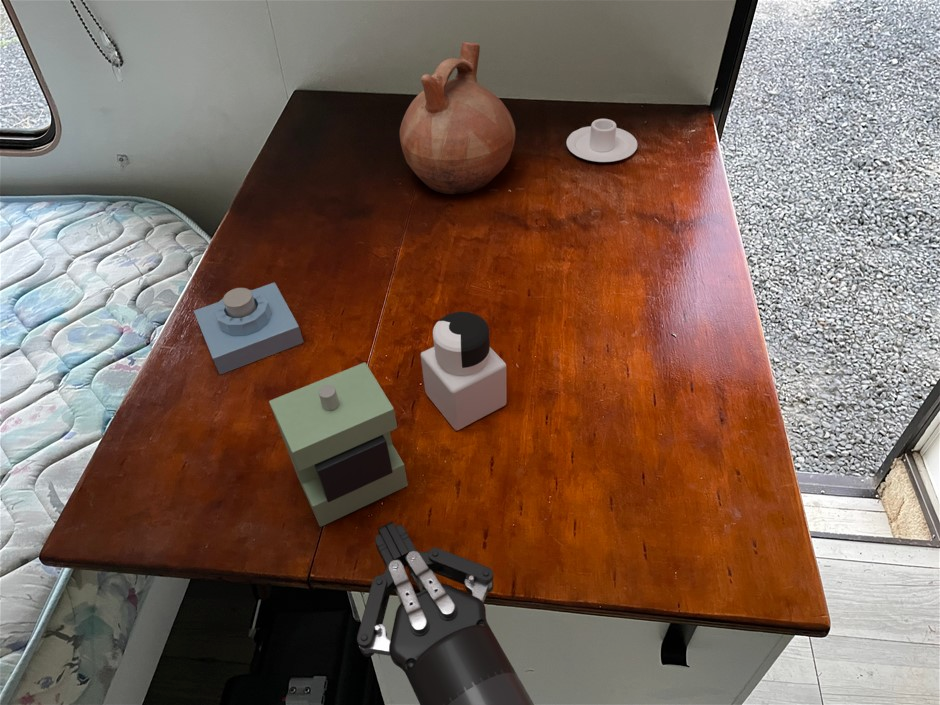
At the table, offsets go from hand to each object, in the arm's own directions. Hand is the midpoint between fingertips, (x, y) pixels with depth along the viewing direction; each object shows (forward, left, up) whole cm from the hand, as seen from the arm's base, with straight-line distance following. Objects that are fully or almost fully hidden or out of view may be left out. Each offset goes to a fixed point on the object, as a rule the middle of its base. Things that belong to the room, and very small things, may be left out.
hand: (385, 529), depth 64 cm
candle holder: (+63, +53, -7) cm, 83 cm away
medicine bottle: (+16, +15, -7) cm, 23 cm away
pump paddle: (0, +8, -3) cm, 8 cm away
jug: (+38, +58, -7) cm, 70 cm away
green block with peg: (0, +10, -7) cm, 12 cm away
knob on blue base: (-3, +39, -7) cm, 40 cm away
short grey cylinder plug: (-3, +39, -2) cm, 39 cm away
